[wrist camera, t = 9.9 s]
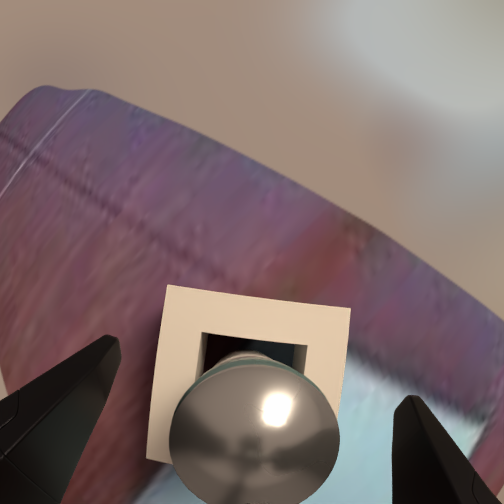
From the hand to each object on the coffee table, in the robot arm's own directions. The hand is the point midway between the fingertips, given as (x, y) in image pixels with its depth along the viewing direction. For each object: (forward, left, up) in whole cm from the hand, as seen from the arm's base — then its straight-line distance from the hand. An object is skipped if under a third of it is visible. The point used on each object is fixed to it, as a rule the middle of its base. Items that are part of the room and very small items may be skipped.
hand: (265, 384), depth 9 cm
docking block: (-2, 0, -12) cm, 12 cm away
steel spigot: (-2, 0, -12) cm, 12 cm away
